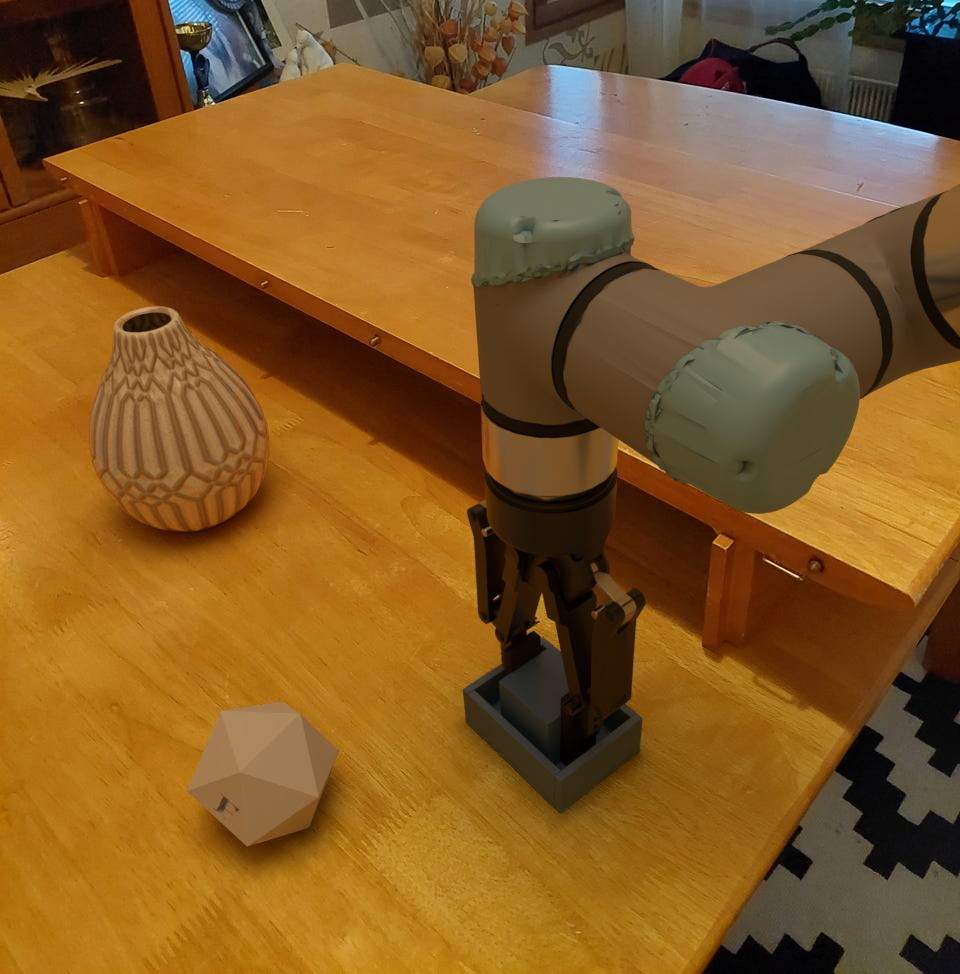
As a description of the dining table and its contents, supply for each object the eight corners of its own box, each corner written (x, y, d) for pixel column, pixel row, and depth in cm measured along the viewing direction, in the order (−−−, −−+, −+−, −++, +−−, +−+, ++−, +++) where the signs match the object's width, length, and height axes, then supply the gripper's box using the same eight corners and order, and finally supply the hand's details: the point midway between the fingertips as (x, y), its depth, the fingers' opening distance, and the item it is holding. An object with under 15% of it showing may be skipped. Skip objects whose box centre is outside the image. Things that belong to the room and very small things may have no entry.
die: (202, 781, 66) (140, 787, 56) (284, 679, 67) (237, 668, 58) (290, 861, 64) (241, 882, 54) (373, 755, 65) (339, 757, 56)
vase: (246, 564, 83) (194, 370, 71) (84, 551, 86) (8, 361, 74) (303, 462, 96) (267, 282, 84) (160, 452, 98) (105, 277, 86)
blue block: (599, 732, 66) (602, 685, 63) (547, 771, 64) (547, 725, 61) (552, 691, 69) (552, 645, 66) (501, 727, 67) (498, 680, 64)
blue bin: (640, 750, 65) (643, 717, 63) (560, 814, 62) (560, 781, 59) (542, 668, 72) (542, 636, 70) (465, 721, 68) (462, 688, 66)
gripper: (720, 509, 48) (682, 779, 62) (498, 380, 60) (508, 633, 74) (619, 575, 45) (602, 846, 59) (404, 424, 56) (433, 681, 70)
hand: (550, 727), depth 66 cm, fingers closed on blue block, 5 cm apart
